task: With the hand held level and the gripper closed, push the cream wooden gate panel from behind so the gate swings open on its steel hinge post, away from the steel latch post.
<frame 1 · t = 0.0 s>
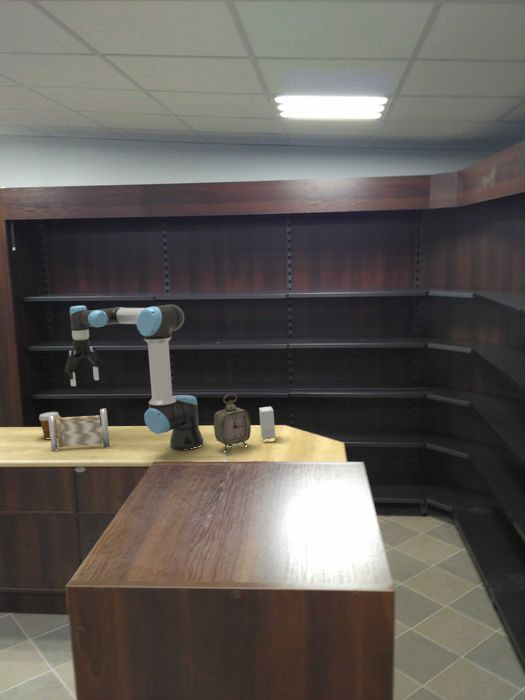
hand: (85, 382, 260), 28 cm above the table, tool pointing down, fingers open, 13 cm apart
skincare box: (268, 440, 251), on the table
hinge post: (106, 446, 252), on the table
gate: (78, 430, 250), point 8 cm above the table, hinge at 0.0°
latch post: (54, 450, 250), on the table
disposable coffee cup: (51, 438, 270), on the table
tabletop clock: (232, 449, 242), on the table
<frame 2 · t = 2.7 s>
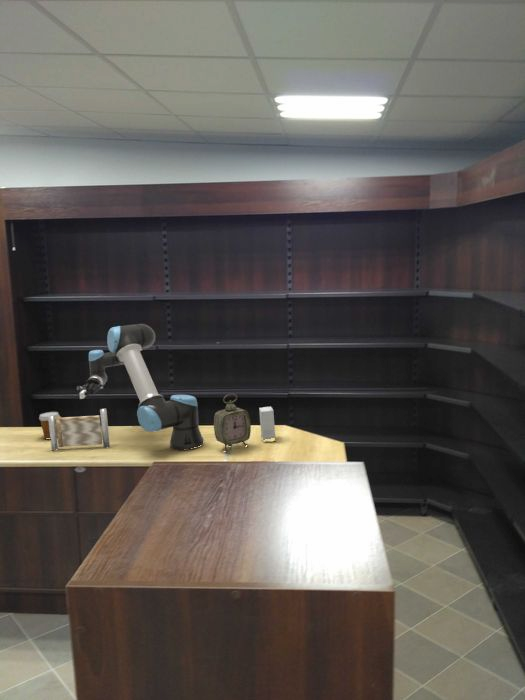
hand: (81, 395, 253), 23 cm above the table, tool horizontal, fingers closed
nothing on the table moved.
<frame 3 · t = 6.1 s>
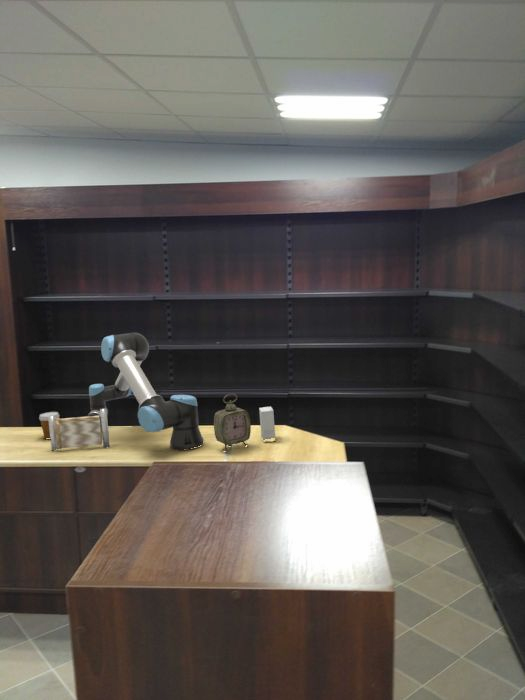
hand: (80, 434, 250), 7 cm above the table, tool horizontal, fingers closed
gate: (78, 431, 249), point 9 cm above the table, hinge at 5.7°, touching gripper
everything else where it was.
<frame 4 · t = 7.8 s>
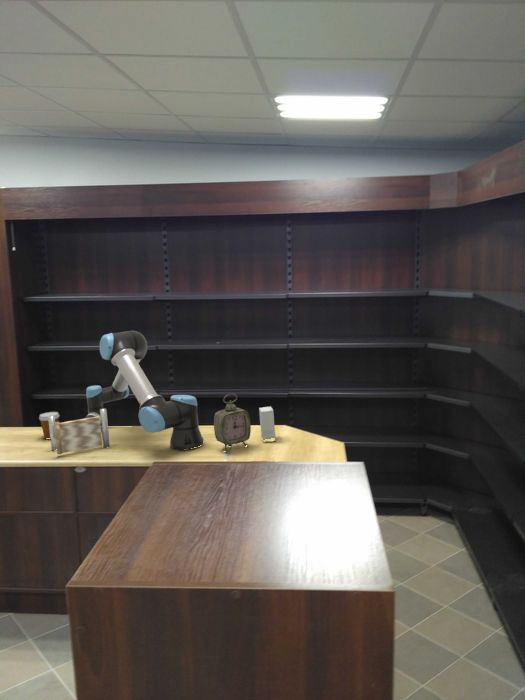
hand: (77, 437, 246), 7 cm above the table, tool horizontal, fingers closed
gate: (78, 434, 244), point 9 cm above the table, hinge at 27.3°, touching gripper
everything else where it was.
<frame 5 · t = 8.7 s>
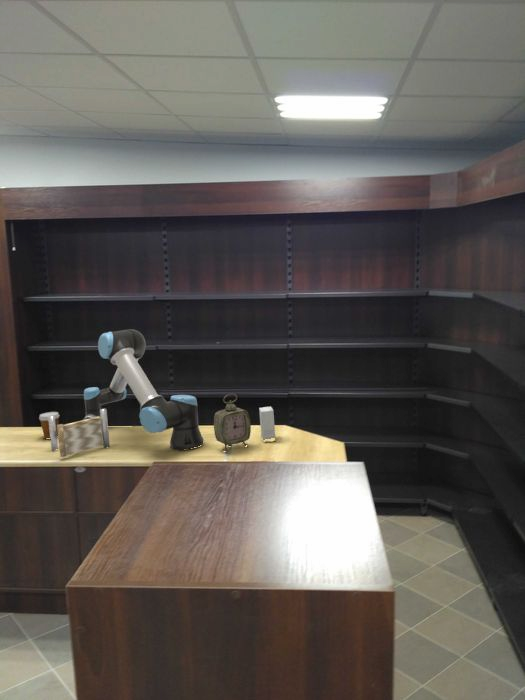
hand: (74, 439, 242), 7 cm above the table, tool horizontal, fingers closed
gate: (80, 435, 242), point 9 cm above the table, hinge at 41.1°
everything else where it was.
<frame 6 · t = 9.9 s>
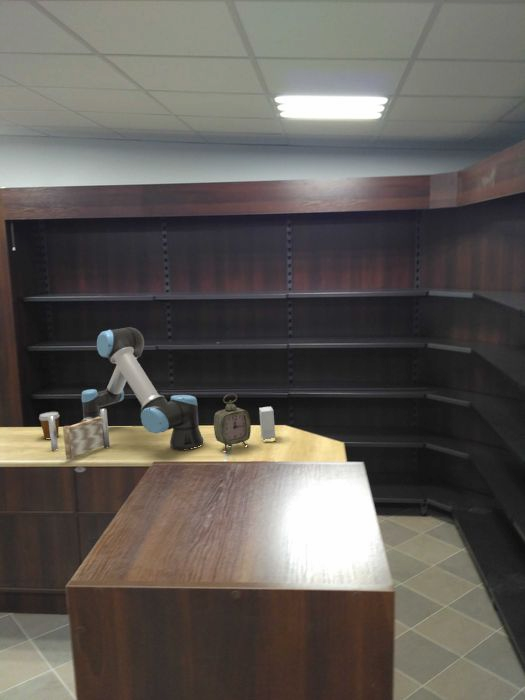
hand: (71, 443, 237), 7 cm above the table, tool horizontal, fingers closed
gate: (83, 436, 240), point 8 cm above the table, hinge at 54.0°, touching gripper
everything else where it was.
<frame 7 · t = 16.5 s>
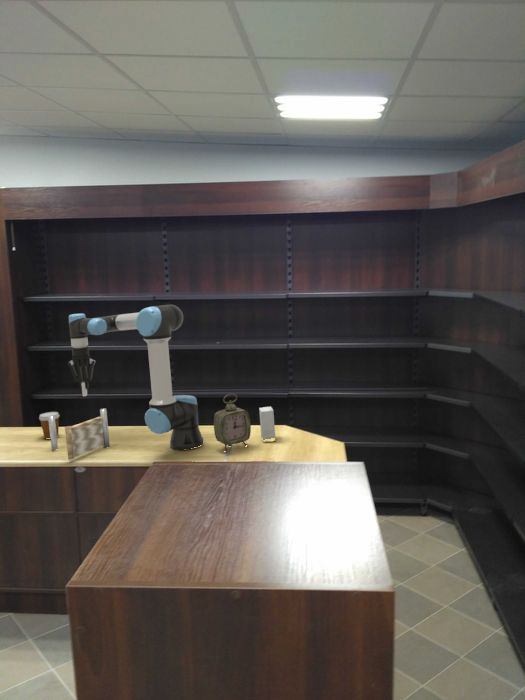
hand: (85, 395, 260), 22 cm above the table, tool pointing down, fingers closed
gate: (85, 436, 240), point 8 cm above the table, hinge at 57.6°
everything else where it was.
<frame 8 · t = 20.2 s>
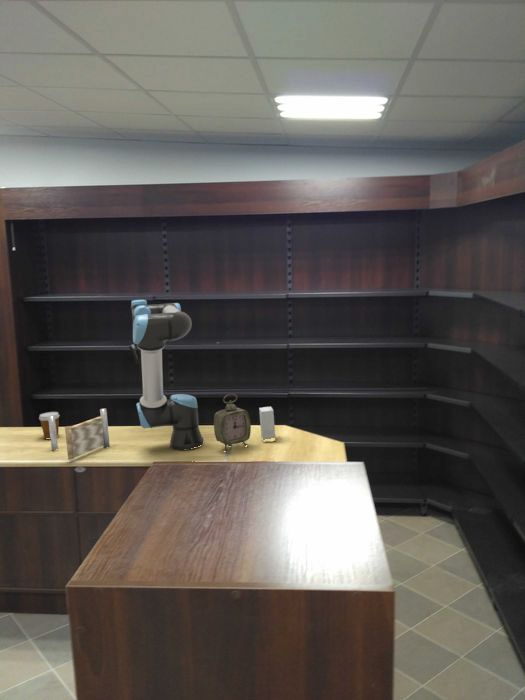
hand: (145, 377, 273), 26 cm above the table, tool pointing down, fingers closed
nothing on the table moved.
at the end: gate at +58° (first picture: +0°) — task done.
